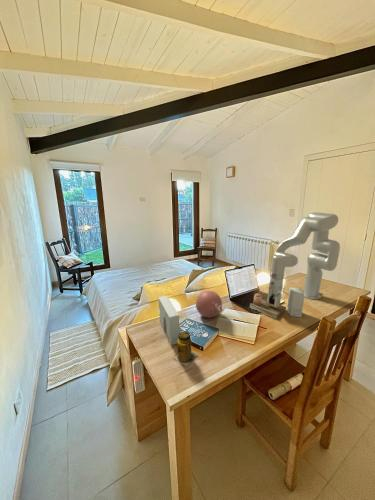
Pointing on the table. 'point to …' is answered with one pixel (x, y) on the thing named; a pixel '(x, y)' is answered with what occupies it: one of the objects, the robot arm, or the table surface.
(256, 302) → the jar
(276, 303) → the carton
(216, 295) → the pink ball
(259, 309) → the shelf
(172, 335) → the skincare box
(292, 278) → the table surface
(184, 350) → the condiment
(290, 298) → the skincare box
